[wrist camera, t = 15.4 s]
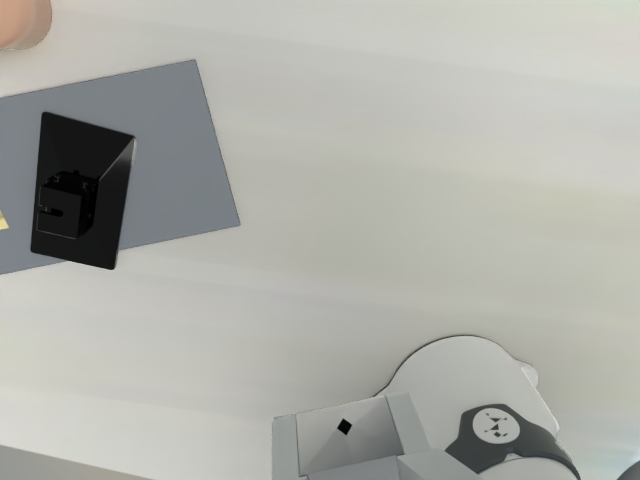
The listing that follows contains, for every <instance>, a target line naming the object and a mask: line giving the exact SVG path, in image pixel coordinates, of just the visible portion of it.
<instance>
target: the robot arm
mask: <svg viewBox="0 0 640 480" xmlns="http://www.w3.org/2000/svg"><path fill="white" fill-rule="evenodd" d="M538 378H539V377H538V373H537V372H536V370H535V369H534V367H533V366H531V365H529V364H527V363H524V362H521V361H518V360H515V359H514V358H512V357H511V356H510V355H509V354H508V353H507V352H506V351H505V350H504V349H503V348H502V347H500V346H499V345H498V344H496V343H494V342H492V341H490V340H487V339H484V338H480V337H474V336H457V337H450V338H446V339H442V340H439V341H436V342H434V343H431V344H429V345H427V346H425V347H423V348H422V349H420V350H419V351H417V352H416V353H414V354H413V355H412V356H411V357H409V358H408V359H407V360H406V361H405V362H404V363H403V365H402V366H401V367H400V368H399V370H398V371H397V373H396V374H395V376H394V378H393V379H392V381H391V383H390V384H389V385H388V387H386V388H385V389H384V390H382V391H381V392H380V393H379V394H377V395H376V396H375V397H372V398H367V399H363V400H358V401H354V402H349V403H345V404H340V405H336V406H331V407H326V408H320V409H315V410H310V411H304V412H299V413H297V414H291V415H286V416H280V417H274V418H273V422H272V480H581V479H580V476H579V473H578V471H577V470H576V468H575V466H574V465H573V463H572V460H571V458H570V457H569V455H568V454H567V452H566V451H565V449H564V448H563V447H562V446H561V445H560V444H559V443H558V442H557V434H558V431H559V425H558V423H557V421H556V419H555V418H554V416H553V414H552V413H551V411H550V410H549V408H548V407H547V405H546V403H545V402H544V400H543V399H542V397H541V396H540V394H539V393H538V391H537V389H536V386H537V383H538Z"/></svg>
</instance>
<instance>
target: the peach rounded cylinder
mask: <svg viewBox="0 0 640 480" xmlns="http://www.w3.org/2000/svg"><path fill="white" fill-rule="evenodd" d="M51 22H52V7H51V2H50V0H0V49H26V48H30V47H32V46H35V45H36V44H38V43H39V42H41V41H42V40H43V39H44V37H45V36H46V35H47V33H48V31H49V29H50V26H51Z"/></svg>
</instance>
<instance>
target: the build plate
mask: <svg viewBox="0 0 640 480" xmlns="http://www.w3.org/2000/svg"><path fill="white" fill-rule="evenodd" d="M137 151H138V143H137V141H136V137H135V136H134V135H131V134H127V133H123V132H120V131H116V130H112V129H109V128H105V127H102V126H98V125H94V124H91V123H87V122H83V121H80V120H76V119H72V118H69V117H65V116H61V115H58V114H54V113H50V112H47V111H45V112H43V113H42V115H41V127H40V139H39V151H38V163H37V175H36V187H35V199H34V211H33V223H32V235H31V247H30V251H31V252H32V253H35V254H40V255H44V256H49V257H54V258H58V259H63V260H68V261H72V262H77V263H82V264H86V265H91V266H95V267H100V268H105V269H109V270H113V269H114V268H115V267H116V261H117V254H118V248H119V242H120V235H121V229H122V223H123V217H124V210H125V204H126V198H127V191H128V185H129V179H130V173H131V167H132V166H133V165H134V164H135V163H136V157H137Z"/></svg>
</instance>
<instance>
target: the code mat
mask: <svg viewBox="0 0 640 480" xmlns="http://www.w3.org/2000/svg"><path fill="white" fill-rule="evenodd" d="M45 111H47V112H50V113H54V114H58V115H61V116H65V117H69V118H72V119H76V120H80V121H83V122H87V123H91V124H94V125H98V126H102V127H105V128H109V129H112V130H116V131H120V132H123V133H127V134H131V135H134V136H135V137H136V141H137V143H138V151H137V157H136V163H135V164H134V165H133V166H132V167H131V173H130V179H129V185H128V191H127V198H126V204H125V210H124V217H123V223H122V229H121V235H120V242H119V248H118V251H119V250H123V249H128V248H133V247H138V246H143V245H148V244H153V243H158V242H162V241H167V240H172V239H177V238H182V237H187V236H192V235H197V234H202V233H206V232H211V231H216V230H221V229H226V228H231V227H236V226H240V222H239V218H238V214H237V211H236V207H235V203H234V200H233V196H232V192H231V189H230V185H229V181H228V178H227V174H226V170H225V167H224V163H223V159H222V156H221V152H220V148H219V145H218V141H217V137H216V134H215V130H214V126H213V123H212V119H211V115H210V112H209V108H208V104H207V101H206V97H205V93H204V90H203V86H202V82H201V79H200V75H199V71H198V68H197V64H196V60H191V61H186V62H181V63H176V64H171V65H166V66H161V67H156V68H151V69H146V70H141V71H136V72H131V73H126V74H121V75H116V76H111V77H106V78H101V79H96V80H91V81H86V82H81V83H76V84H71V85H66V86H61V87H56V88H50V89H45V90H40V91H35V92H30V93H25V94H20V95H15V96H10V97H5V98H0V275H1V274H6V273H11V272H16V271H21V270H26V269H31V268H36V267H40V266H45V265H50V264H55V263H60V262H65V261H68V260H63V259H58V258H54V257H49V256H44V255H40V254H35V253H32V252H31V251H30V247H31V235H32V223H33V211H34V199H35V187H36V175H37V163H38V151H39V139H40V127H41V115H42V113H43V112H45Z"/></svg>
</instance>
